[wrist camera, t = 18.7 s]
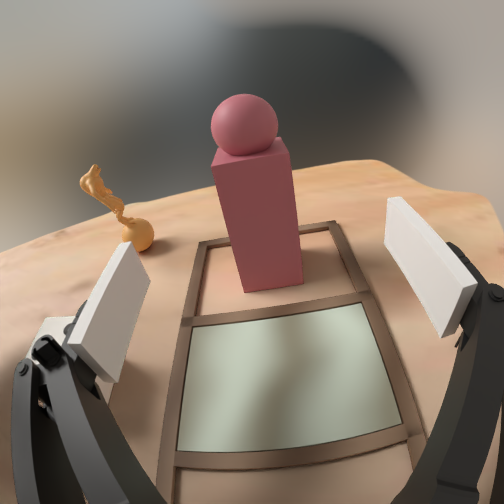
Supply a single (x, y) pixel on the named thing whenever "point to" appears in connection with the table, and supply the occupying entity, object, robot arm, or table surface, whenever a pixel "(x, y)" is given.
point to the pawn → (256, 193)
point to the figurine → (118, 211)
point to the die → (58, 331)
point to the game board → (284, 382)
